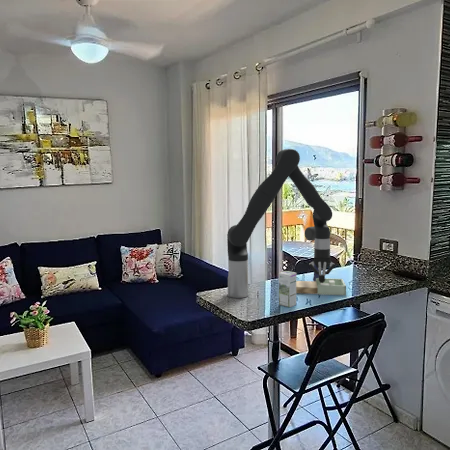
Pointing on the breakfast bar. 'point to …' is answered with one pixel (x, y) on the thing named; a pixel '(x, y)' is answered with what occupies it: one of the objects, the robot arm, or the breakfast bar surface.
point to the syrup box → (287, 288)
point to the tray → (331, 287)
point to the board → (306, 287)
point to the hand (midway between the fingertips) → (321, 282)
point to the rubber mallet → (311, 236)
